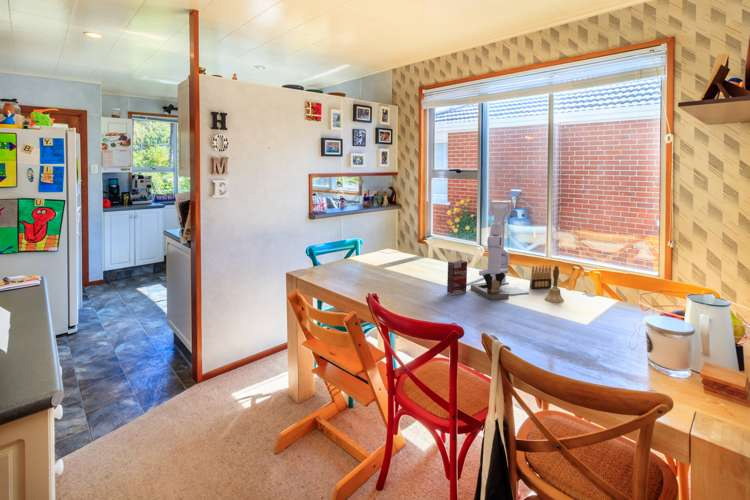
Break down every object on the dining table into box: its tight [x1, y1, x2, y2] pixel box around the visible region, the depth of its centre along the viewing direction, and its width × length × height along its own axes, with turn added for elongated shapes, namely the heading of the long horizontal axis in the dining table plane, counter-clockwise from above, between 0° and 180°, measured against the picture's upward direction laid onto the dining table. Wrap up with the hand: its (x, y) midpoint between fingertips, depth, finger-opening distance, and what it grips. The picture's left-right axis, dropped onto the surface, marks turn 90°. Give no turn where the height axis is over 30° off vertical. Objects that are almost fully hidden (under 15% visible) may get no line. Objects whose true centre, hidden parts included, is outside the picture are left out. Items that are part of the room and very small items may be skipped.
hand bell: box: [543, 265, 565, 304], centre depth 191 cm, size 8×8×16 cm
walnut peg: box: [487, 279, 501, 293], centre depth 199 cm, size 4×4×8 cm
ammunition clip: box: [529, 264, 552, 291], centre depth 209 cm, size 11×2×12 cm, turn 98°
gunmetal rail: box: [470, 282, 510, 302], centre depth 203 cm, size 20×9×2 cm, turn 15°
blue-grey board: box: [500, 286, 529, 297], centre depth 206 cm, size 10×10×1 cm
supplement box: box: [446, 259, 468, 296], centre depth 204 cm, size 9×5×16 cm, turn 117°
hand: (493, 288), depth 199 cm, fingers closed on walnut peg, 4 cm apart
